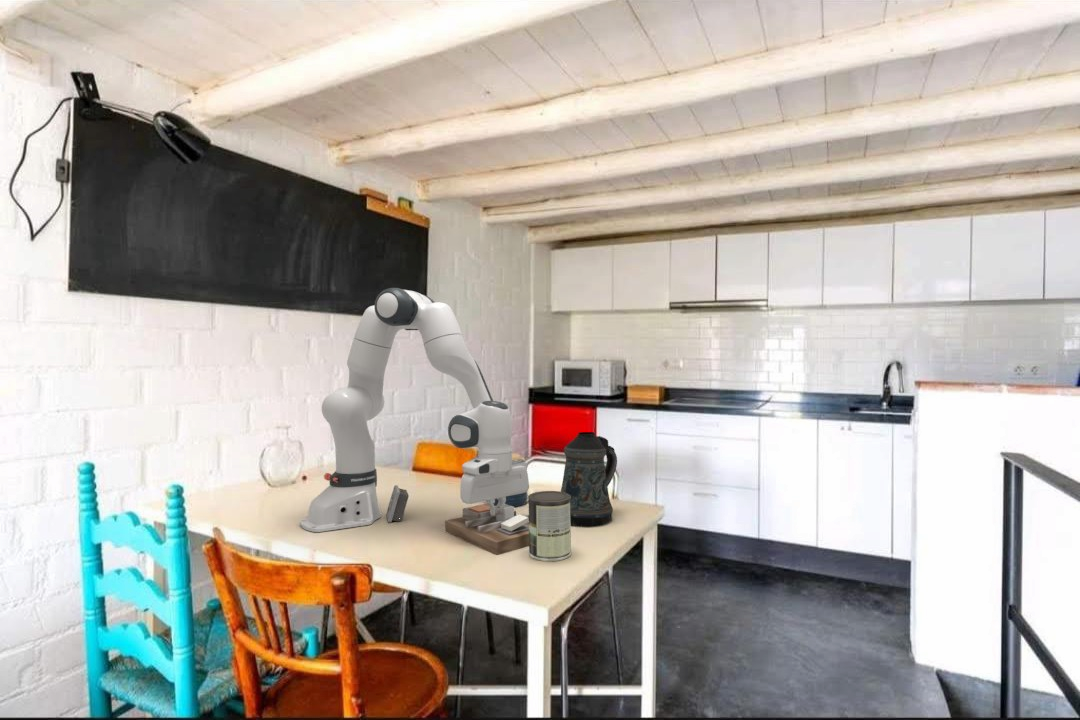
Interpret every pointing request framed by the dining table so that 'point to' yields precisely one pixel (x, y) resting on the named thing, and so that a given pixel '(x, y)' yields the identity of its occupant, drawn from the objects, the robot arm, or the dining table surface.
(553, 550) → the coffee can
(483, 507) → the push button
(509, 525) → the rocker switch
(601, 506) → the beer stein
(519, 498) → the canister
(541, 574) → the dining table surface
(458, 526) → the control panel
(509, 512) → the block
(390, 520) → the electrical switch
